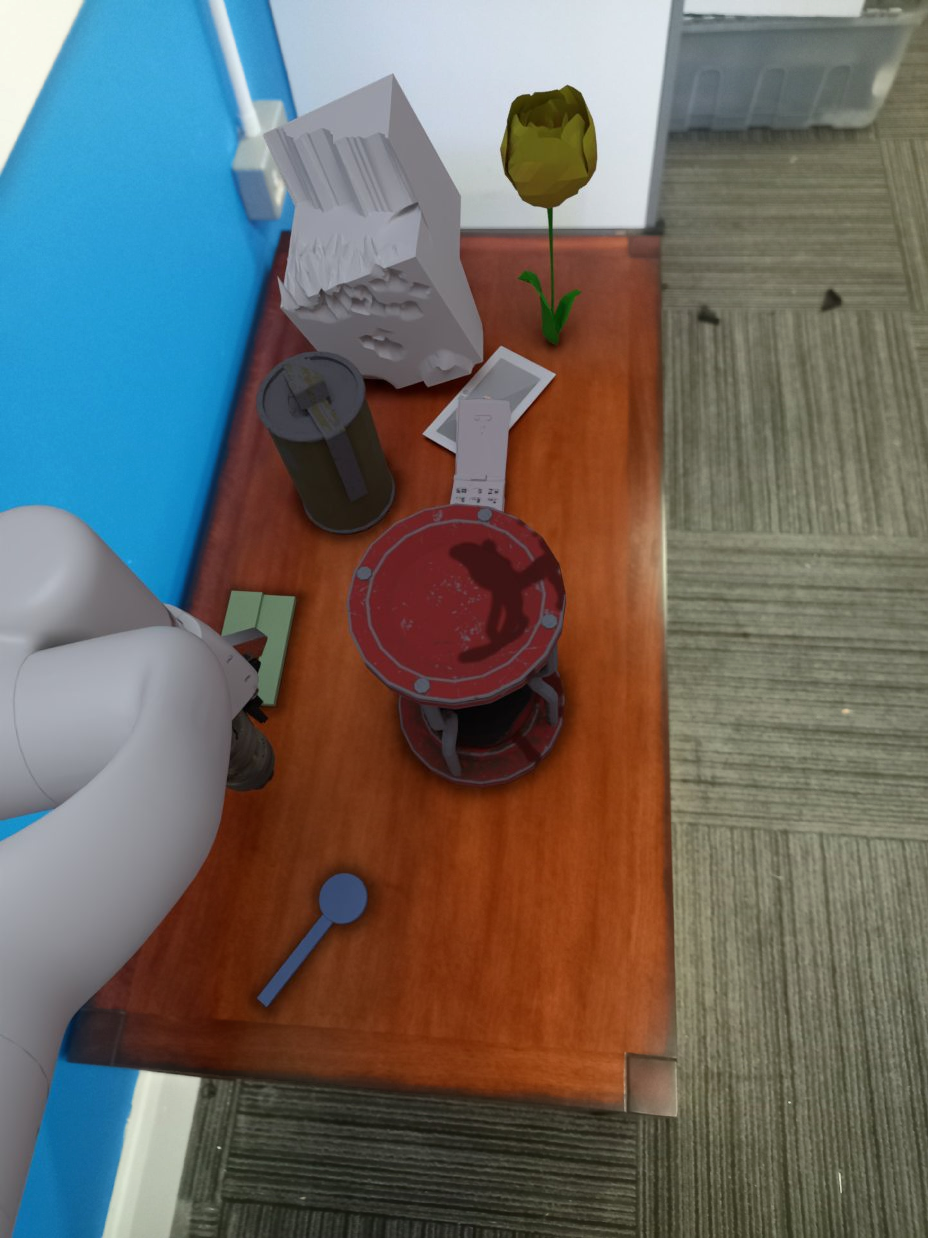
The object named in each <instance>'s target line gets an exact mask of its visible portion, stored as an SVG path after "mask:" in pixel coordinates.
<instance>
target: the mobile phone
mask: <svg viewBox="0 0 928 1238" xmlns="http://www.w3.org/2000/svg"><path fill="white" fill-rule="evenodd" d="M509 413H510V416H509ZM456 421H457V434H456V453H455V466H456V472H455V474H454V475H453V485H452V491H451V496H450V502H449V504H455V503H459V504H470V505H481V506H489V507H492V508H495V509H497V510H500V511H502V512H505V503H506V499H505V492H506V470H507V457H508V444H509V431H510V429H509V422H510V421H511V410H510V401H508V400H498V399H463V400H459V401H458V408H457V409H456Z"/></svg>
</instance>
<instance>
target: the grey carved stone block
mask: <svg viewBox="0 0 928 1238" xmlns="http://www.w3.org/2000/svg"><path fill="white" fill-rule="evenodd" d="M262 136H263V139H264V141H265V143H266V146H267V148H268V151H269V152H270V154H271V155H270V156H271V157H272V159H273V161H274V163H275V165H276V168H277V170H278V172H279V175H280V176H281V179H282V181H283V183H284V185H285V188H286V190H287V192H288V195H289V196H290V200H291V201H292V203H293V206H294V211H293V212H294V213H293V219H292V225H291V231H290V240H289V247H288V255H287V257H286V261H287V263H286V268H285V273H284V278H283V279H284V280H283V282H282V280H281V279H280V277H279V276H278V275H277V281H278V287H279V292H280V299H281V300H280V307H279V309H280V310H281V311H282V312H283V313H284V314H285V316H287V318H288V319H289V320H290V321H291V322H292V324H293V325H294V326H295V327H296V328H297V329H298V330H299V332H300V333H301V334H302V335H303V336H304V337H305V339H306V340H307V341H308V342H309V343H310V345H312V347H313V348H314V349H315V351H321V352H330V353H334V354H338V355H340V356H342V357H344V358H346V359H348V360H349V361H350V362H352V363H353V364H354V365H355V366H356V367H357V368H358V370H359V371H360V373H361V375H362V377H363V380H365V379H366V380H380V381H381V380H384V381H386V382H387V383H389V384H391V385H392V386H393V387H394V388H395V389H396V390H398V389H403V388H405V387H409V386H412V385H415V384H418V383H422V382H424V384H425V386H426V387H427V388H430V387H433V386H437V385H439V384H443V383H446V382H449V381H451V380H455V379H458V378H462V377H466V376H469V375H471V374H472V372H473V368H475V366H476V365H478V364H481V363H483V362H484V329H483V323H482V320H481V317H480V313H479V311H478V307H477V305H476V302H475V298H474V296H473V294H472V291H471V290H472V289H471V288H470V284H469V282H468V278H467V276H466V273H465V270H464V267H463V264H462V261H461V258H460V255H461V254H460V253H461V214H462V213H461V212H462V195H461V193H460V192H459V190H458V187H457V186H456V185H455V182H454V181H453V179H452V177H451V175H450V173H449V171H448V170H447V168H446V166H445V164H444V163H443V161H442V159H441V157H440V156H439V154H438V152H437V150H436V148H435V146H434V145H433V142H432V141H431V139H430V138H429V136H428V133H427V132H426V130H425V128H424V127H423V125H422V123H421V121H420V120H419V118H418V115H417V114H416V111H414V108H413V106H412V105H411V103H410V101H409V99H408V97H407V95H406V94H405V92H404V90H403V89H402V87H401V85H400V83H399V81H398V79H397V78H396V76H395V74H394V73H390V74H387V75H386V76H384V77H381V78H379V79H377V80H375V81H373V82H371V83H368V84H367V85H365V86H362V87H359V88H358V89H356V90H354V91H351V92H350V93H347V94H346V95H343V96H342V97H339V98H337V99H334V100H332V101H331V102H328V103H326V104H323V105H321V106H320V107H318V108H315V109H313V110H310V111H309V112H307V113H305V114H303V115H301V116H299V117H296V118H294V119H293V120H290V121H288V122H286V123H284V124H283V123H282V124H281V125H279V126H277V127H275V128H272V129H271V130H269V131H266V132H265V133H263V135H262Z"/></svg>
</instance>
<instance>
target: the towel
mask: <svg viewBox="0 0 928 1238" xmlns="http://www.w3.org/2000/svg"><path fill="white" fill-rule="evenodd" d="M297 600H298V599H297V598H296V596H293V595H273V594H264V593H263V592H262V591H247V590H246V591H245V590H231V592H230V596H229V600H228V604H227V609H226V613H225V617H224V621H223V625H222V630H221V635H220V636H221V637H222V636H226V635H229V634H233V633H236V632H239V631H243V630H246V629H250V628H253V627H255V628H257V629H258V630H259V631H261V632H262V633H263V634H265V635H266V636H267V637H268V640H267V643H266V645H265V648H264V651H263V654H262V656H261V657H259V661H260V662H261V666H260V669H259V672H258V676H259V682H258V686H257V688H258V689H259V692H258V694H257V695H258V696H259V697H260V698H261V699H262V700H263V701H264V702H263V703H262V704H261V706H262V707H277V702H278V697H279V691H280V687H281V682H282V677H283V676H282V675H283V671H284V667H285V661H286V656H287V651H288V646H289V642H290V641H289V640H290V636H291V631H292V626H293V620H294V615H295V611H296V605H297ZM261 706H260V707H261Z"/></svg>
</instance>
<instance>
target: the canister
mask: <svg viewBox="0 0 928 1238" xmlns="http://www.w3.org/2000/svg"><path fill="white" fill-rule="evenodd" d="M255 408H256V412H257V417H258V419H259V420H260V422H261V424H262V425H263V426H264V428H265V429H266V430H267V431H268V433H269V435H270V438H271V440H272V442H273V444H274V445H275V448H276V450H277V452H278V454H279V456H280V458H281V460H282V462H283V464H284V466H285V468H286V470H287V472H288V474H289V476H290V479H291V480H292V483H293V485H294V487H295V489H296V491H297V493H298V494H299V497H300V499H301V502H302V505H303V509H304V511H305V513H306V516H307V517H308V518H309V520H310V521H311V522H312V523H313V524H314V525H315V526H317V527H318V528H320V529H322V530H324V531H326V532H330V533H333V534H338V535H339V534H340V535H348V534H349V535H350V534H356V533H359V532H362V531H363V532H364V531H365V530H367V529H369V528H371V527H373V526H374V525H376V524H378V522H380V521H381V520H382V519H383V518H384V517H385V515H387V513H388V512H389V510H390V508H391V507H392V506H393V504H394V503H393V502H394V500H395V495H396V485H395V480H394V479H395V478H394V475H393V474H392V471H391V470H390V469H389V467H388V463H387V460H386V457H385V454H384V450H383V447H382V444H381V440H380V438H379V434H378V430H377V427H376V423H375V422H374V421H375V420H374V418H373V415H372V412H371V408H370V405H369V402H368V399H367V395H366V384H365V379H363V377H362V375H361V373H360V371H359V370H358V368H357V367H356V366H355V365H354V364H353V363H352V362H350V361H349V360H348V359H346V358H344V357H342V356H340V355H338V354H334V353H330V352H321V351H317V350H315V351H307V352H302V353H299V354H295V355H293V356H291V357H288V358H286V359H284V360H282V361H280V362H279V363H278V364H276V365H275V366H274V367H272V369H271V370H270V371H269V372H268V373H267V374H266V375H265V377H264V378H263V379H262V381H261V383H260V385H259V387H258V389H257V392H256V396H255Z"/></svg>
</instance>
